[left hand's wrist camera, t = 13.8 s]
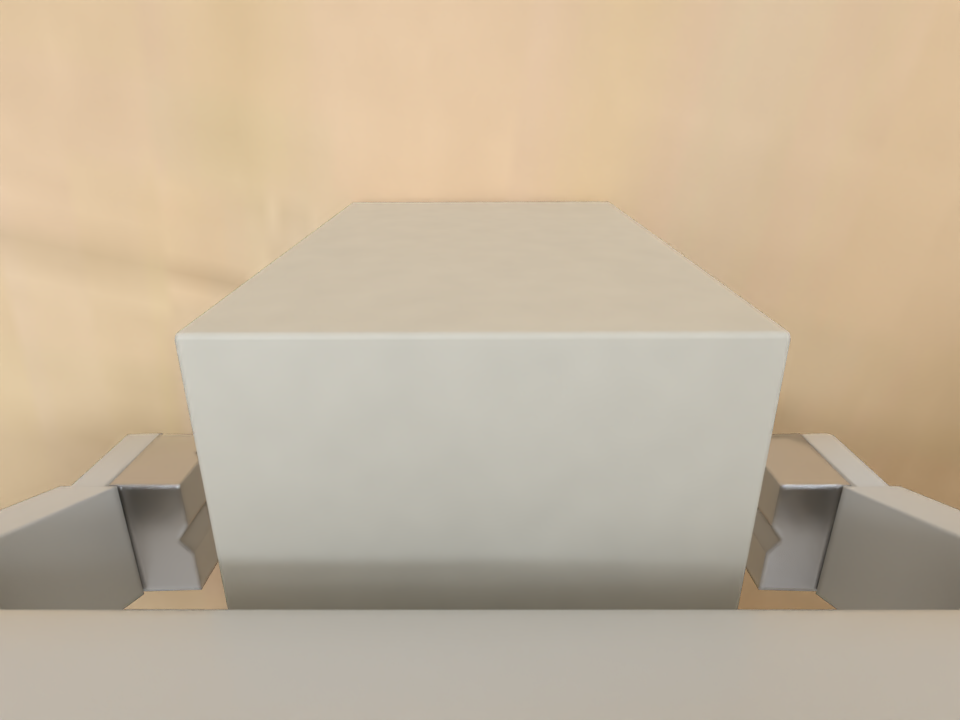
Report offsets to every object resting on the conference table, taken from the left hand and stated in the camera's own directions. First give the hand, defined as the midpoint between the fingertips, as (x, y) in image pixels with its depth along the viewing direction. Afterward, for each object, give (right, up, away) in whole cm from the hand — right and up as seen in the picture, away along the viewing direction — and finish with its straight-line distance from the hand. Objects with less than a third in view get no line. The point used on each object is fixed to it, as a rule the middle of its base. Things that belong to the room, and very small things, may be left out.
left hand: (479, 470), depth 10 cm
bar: (0, -8, +8) cm, 11 cm away
